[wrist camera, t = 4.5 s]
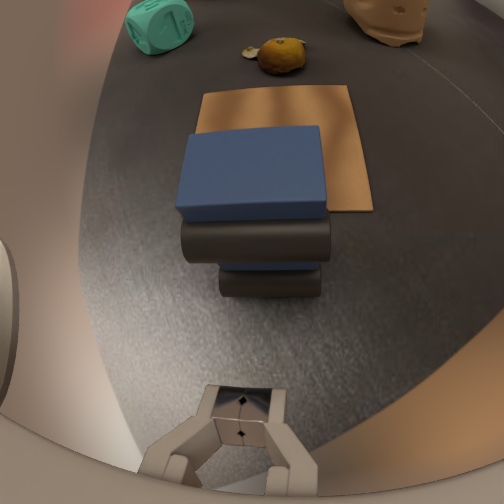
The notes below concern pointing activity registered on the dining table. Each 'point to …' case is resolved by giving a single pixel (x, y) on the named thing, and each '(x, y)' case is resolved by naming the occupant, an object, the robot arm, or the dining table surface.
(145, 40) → the decorative dice
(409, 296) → the dining table surface
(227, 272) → the toy car
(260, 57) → the fruit
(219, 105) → the brown flat square board
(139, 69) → the dining table surface
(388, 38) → the container
